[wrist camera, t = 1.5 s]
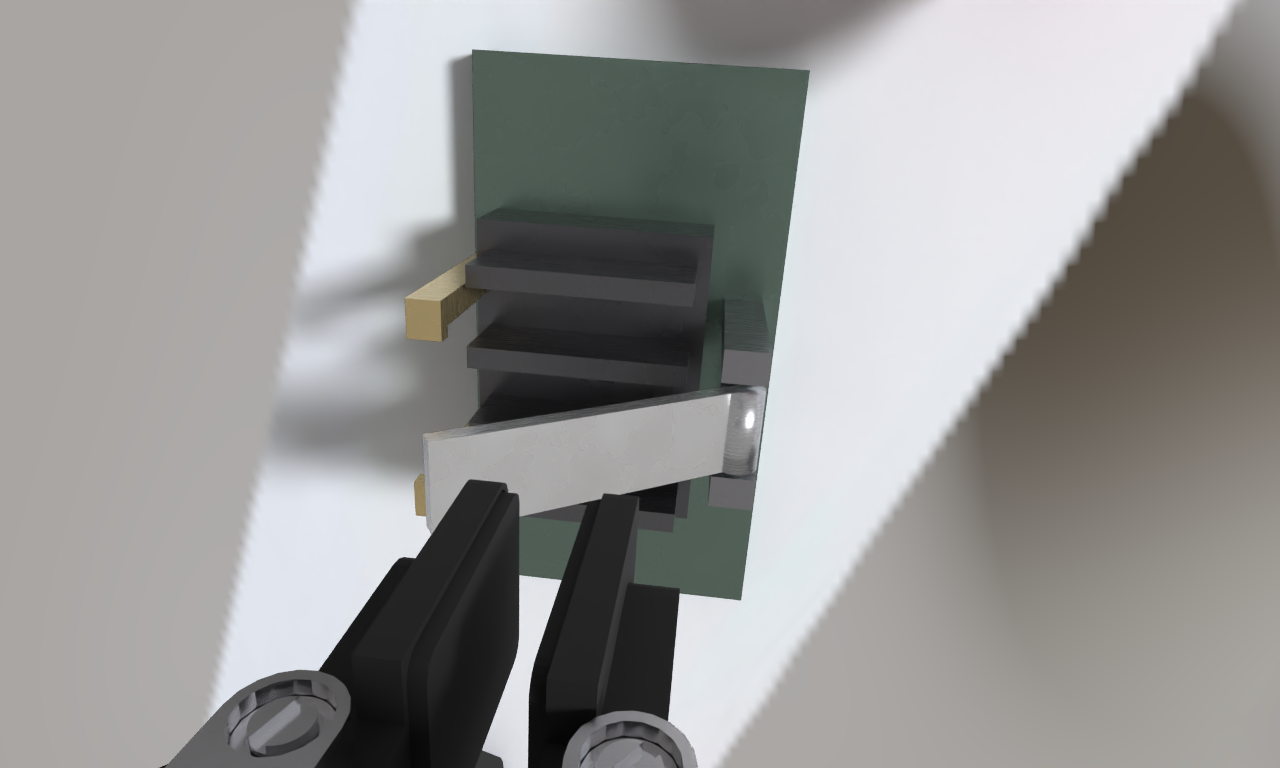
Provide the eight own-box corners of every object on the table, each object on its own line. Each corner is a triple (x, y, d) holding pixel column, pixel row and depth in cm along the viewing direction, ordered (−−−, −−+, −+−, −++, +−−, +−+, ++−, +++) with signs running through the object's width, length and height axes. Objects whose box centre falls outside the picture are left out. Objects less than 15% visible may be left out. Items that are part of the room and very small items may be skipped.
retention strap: (417, 427, 22) (432, 449, 21) (748, 377, 28) (776, 393, 26) (422, 517, 23) (436, 544, 22) (739, 451, 29) (765, 470, 27)
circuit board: (481, 51, 31) (388, 34, 22) (806, 71, 30) (839, 61, 21) (487, 557, 39) (422, 685, 31) (740, 585, 38) (744, 725, 30)
